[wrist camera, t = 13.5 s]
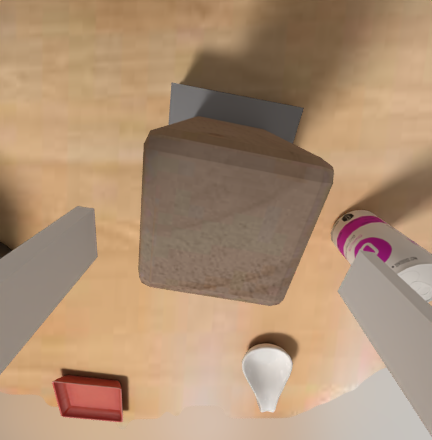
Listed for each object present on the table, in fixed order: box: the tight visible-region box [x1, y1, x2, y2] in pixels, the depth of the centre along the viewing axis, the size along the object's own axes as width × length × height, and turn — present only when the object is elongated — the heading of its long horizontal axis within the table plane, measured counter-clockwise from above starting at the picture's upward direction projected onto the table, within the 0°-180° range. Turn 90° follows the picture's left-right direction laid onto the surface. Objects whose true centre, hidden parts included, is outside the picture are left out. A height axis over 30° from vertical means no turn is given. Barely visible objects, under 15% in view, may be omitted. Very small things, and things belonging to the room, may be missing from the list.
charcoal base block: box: [169, 83, 304, 144], centre depth 33 cm, size 16×16×6 cm
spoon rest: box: [242, 343, 293, 412], centre depth 56 cm, size 24×12×7 cm, turn 5°
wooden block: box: [138, 116, 334, 306], centre depth 22 cm, size 10×10×20 cm
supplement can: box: [331, 210, 432, 303], centre depth 35 cm, size 8×8×15 cm
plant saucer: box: [52, 375, 123, 422], centre depth 66 cm, size 18×18×3 cm
